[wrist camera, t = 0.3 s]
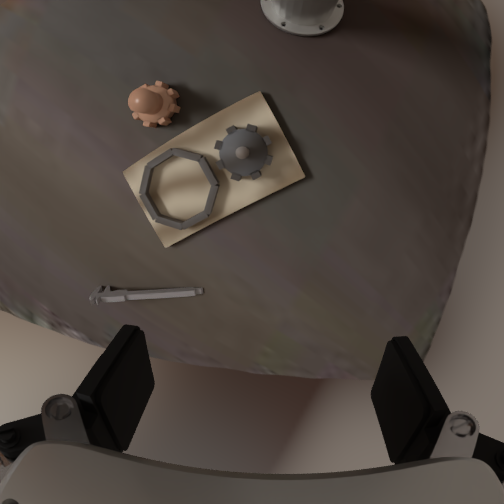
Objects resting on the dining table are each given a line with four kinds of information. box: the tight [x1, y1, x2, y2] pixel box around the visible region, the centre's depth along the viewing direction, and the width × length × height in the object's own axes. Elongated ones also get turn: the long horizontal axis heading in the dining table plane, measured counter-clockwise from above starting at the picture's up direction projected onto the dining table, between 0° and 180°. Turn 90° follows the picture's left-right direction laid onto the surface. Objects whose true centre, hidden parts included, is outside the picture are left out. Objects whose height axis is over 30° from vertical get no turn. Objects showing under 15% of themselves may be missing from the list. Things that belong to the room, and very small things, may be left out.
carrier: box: [123, 91, 305, 248], centre depth 41 cm, size 14×24×6 cm, turn 118°
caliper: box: [89, 286, 203, 305], centre depth 48 cm, size 20×1×6 cm, turn 92°
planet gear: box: [128, 81, 181, 128], centre depth 37 cm, size 7×7×8 cm
